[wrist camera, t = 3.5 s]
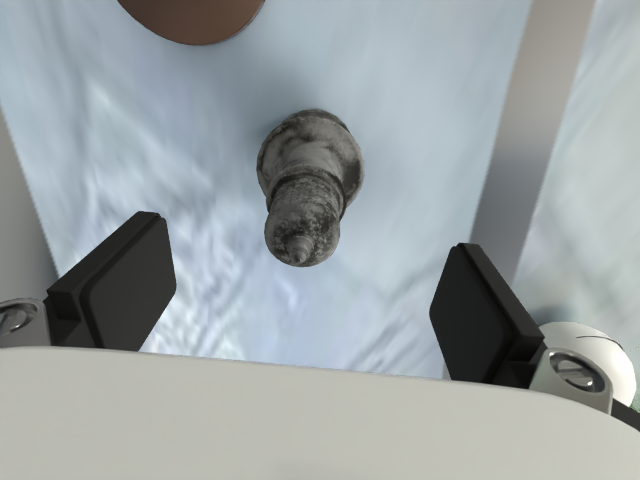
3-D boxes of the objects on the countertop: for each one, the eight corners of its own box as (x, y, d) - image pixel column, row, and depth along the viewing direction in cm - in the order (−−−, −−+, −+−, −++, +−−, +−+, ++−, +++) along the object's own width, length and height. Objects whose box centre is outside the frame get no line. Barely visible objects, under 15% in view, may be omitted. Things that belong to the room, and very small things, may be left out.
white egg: (516, 372, 32) (563, 454, 25) (489, 325, 29) (534, 405, 22) (633, 331, 29) (719, 413, 22) (617, 273, 25) (711, 350, 19)
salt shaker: (248, 132, 21) (169, 227, 10) (334, 85, 19) (341, 140, 9) (295, 209, 23) (269, 345, 13) (373, 173, 22) (414, 293, 11)
